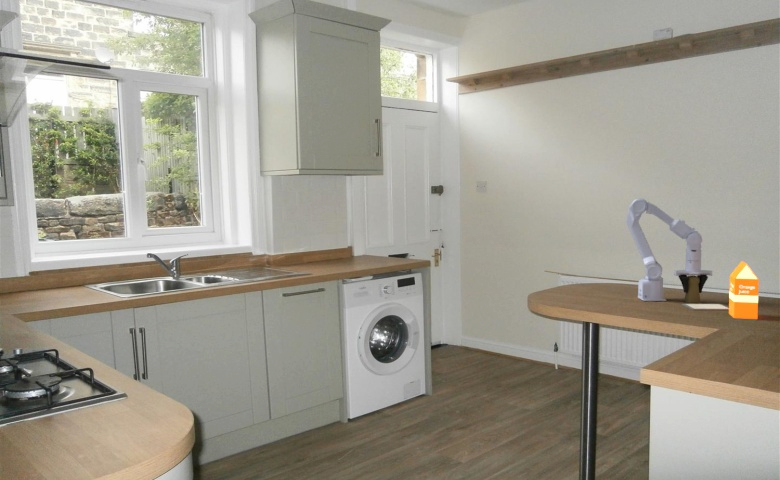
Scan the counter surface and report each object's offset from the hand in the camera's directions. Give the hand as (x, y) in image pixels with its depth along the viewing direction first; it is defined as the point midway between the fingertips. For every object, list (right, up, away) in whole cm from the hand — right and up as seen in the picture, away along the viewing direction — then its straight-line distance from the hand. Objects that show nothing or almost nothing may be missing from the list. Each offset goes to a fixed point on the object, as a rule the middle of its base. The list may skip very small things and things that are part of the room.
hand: (692, 292), depth 246 cm
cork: (0, -4, 0) cm, 4 cm away
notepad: (0, -5, -12) cm, 13 cm away
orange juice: (+4, -6, -28) cm, 29 cm away
